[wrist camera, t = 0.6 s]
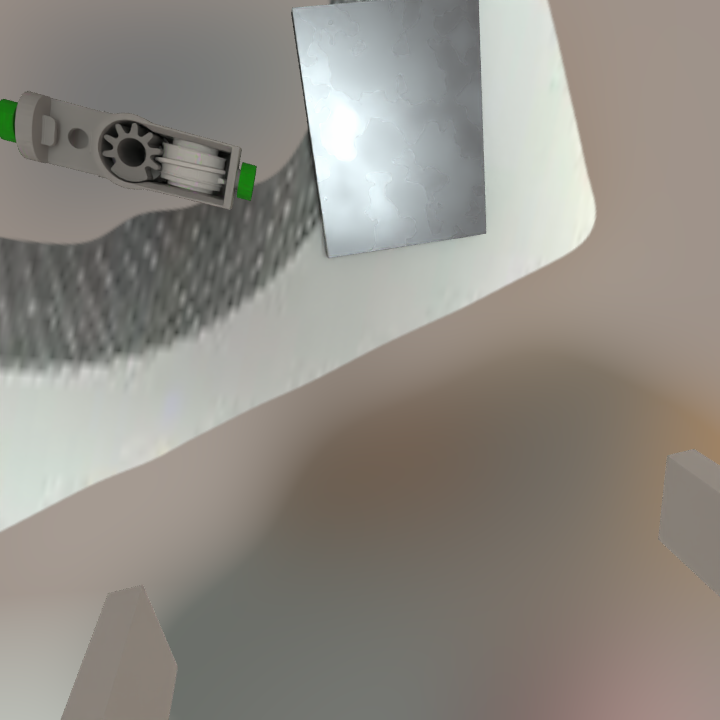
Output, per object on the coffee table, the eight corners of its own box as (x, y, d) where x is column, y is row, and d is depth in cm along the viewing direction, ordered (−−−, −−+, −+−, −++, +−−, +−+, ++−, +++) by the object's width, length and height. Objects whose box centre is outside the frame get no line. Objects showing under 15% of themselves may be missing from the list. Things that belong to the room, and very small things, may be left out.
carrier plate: (291, 13, 29) (292, 8, 28) (471, -4, 30) (478, -10, 29) (327, 255, 33) (328, 257, 33) (480, 232, 35) (486, 233, 34)
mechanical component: (82, 110, 28) (-8, 75, 19) (261, 159, 31) (259, 148, 22) (78, 164, 29) (-10, 155, 20) (253, 207, 32) (247, 217, 22)
